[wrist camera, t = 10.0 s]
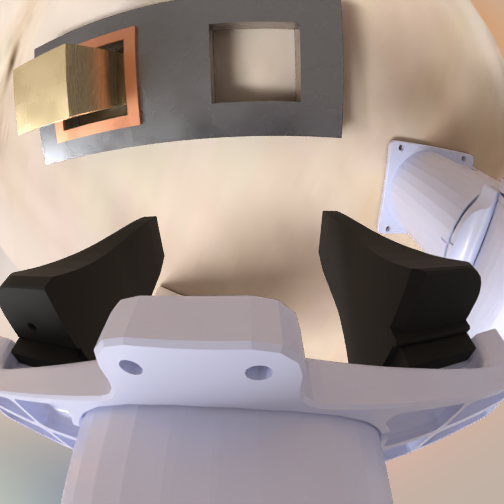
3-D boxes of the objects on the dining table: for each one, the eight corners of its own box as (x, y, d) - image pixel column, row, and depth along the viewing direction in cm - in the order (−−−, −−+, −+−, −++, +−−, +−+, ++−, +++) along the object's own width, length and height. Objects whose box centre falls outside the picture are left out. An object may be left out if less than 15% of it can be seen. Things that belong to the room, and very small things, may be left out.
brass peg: (127, 54, 15) (65, 43, 8) (130, 103, 17) (69, 116, 10) (82, 67, 15) (13, 70, 8) (86, 114, 17) (18, 135, 10)
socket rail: (332, 7, 13) (341, -2, 11) (333, 133, 18) (342, 138, 16) (48, 49, 13) (32, 49, 11) (59, 157, 18) (43, 165, 17)
